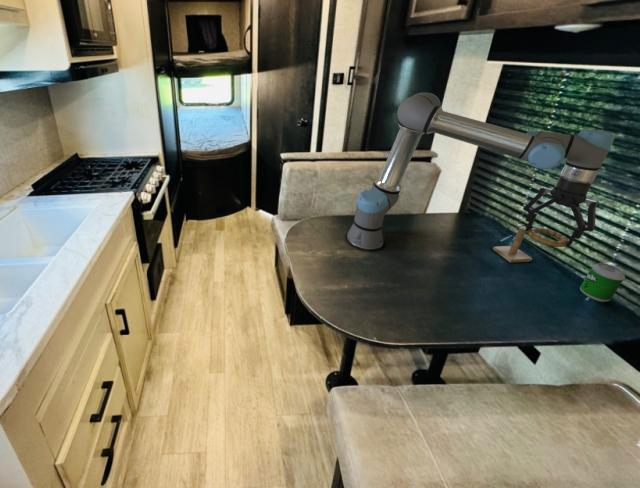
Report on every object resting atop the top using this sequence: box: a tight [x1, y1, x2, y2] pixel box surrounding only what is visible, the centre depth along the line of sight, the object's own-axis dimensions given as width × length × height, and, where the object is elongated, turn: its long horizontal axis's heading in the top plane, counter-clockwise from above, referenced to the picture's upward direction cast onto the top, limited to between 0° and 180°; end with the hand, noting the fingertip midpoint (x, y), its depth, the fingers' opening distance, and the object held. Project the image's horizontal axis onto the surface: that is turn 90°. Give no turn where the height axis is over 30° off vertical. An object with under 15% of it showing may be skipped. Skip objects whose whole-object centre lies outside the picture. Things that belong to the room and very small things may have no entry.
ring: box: [527, 227, 569, 248], centre depth 109 cm, size 10×10×2 cm
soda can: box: [579, 262, 626, 303], centre depth 108 cm, size 8×8×12 cm
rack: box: [492, 226, 533, 263], centre depth 129 cm, size 9×9×14 cm
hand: (547, 237), depth 109 cm, fingers closed on ring, 10 cm apart
